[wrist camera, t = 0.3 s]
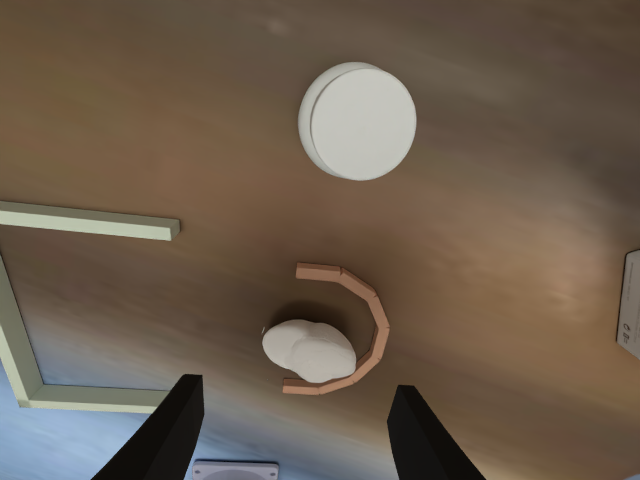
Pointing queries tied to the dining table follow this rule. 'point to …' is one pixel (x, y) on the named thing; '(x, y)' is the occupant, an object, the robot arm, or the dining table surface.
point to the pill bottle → (357, 121)
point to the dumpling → (310, 350)
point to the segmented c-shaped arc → (378, 339)
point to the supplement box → (630, 306)
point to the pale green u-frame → (9, 332)
